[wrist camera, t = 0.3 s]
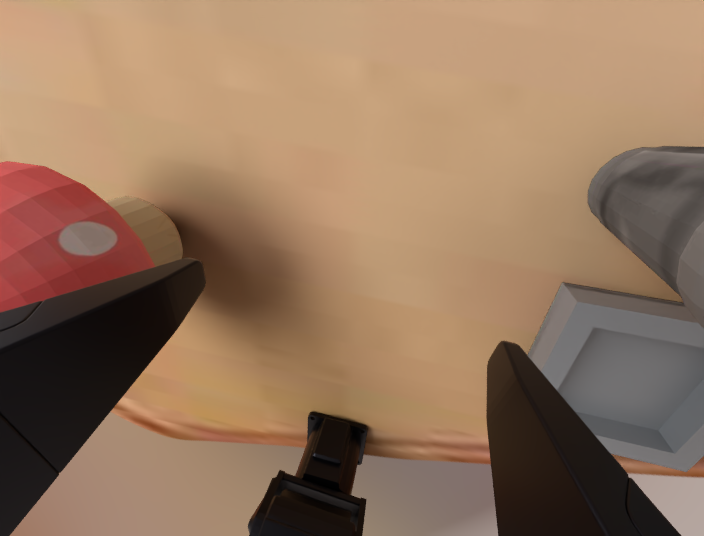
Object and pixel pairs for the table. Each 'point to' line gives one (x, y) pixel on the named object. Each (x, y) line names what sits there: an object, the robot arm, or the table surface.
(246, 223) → the table surface
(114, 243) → the decorative mushroom
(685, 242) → the beverage cup
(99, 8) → the table surface
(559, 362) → the tray
